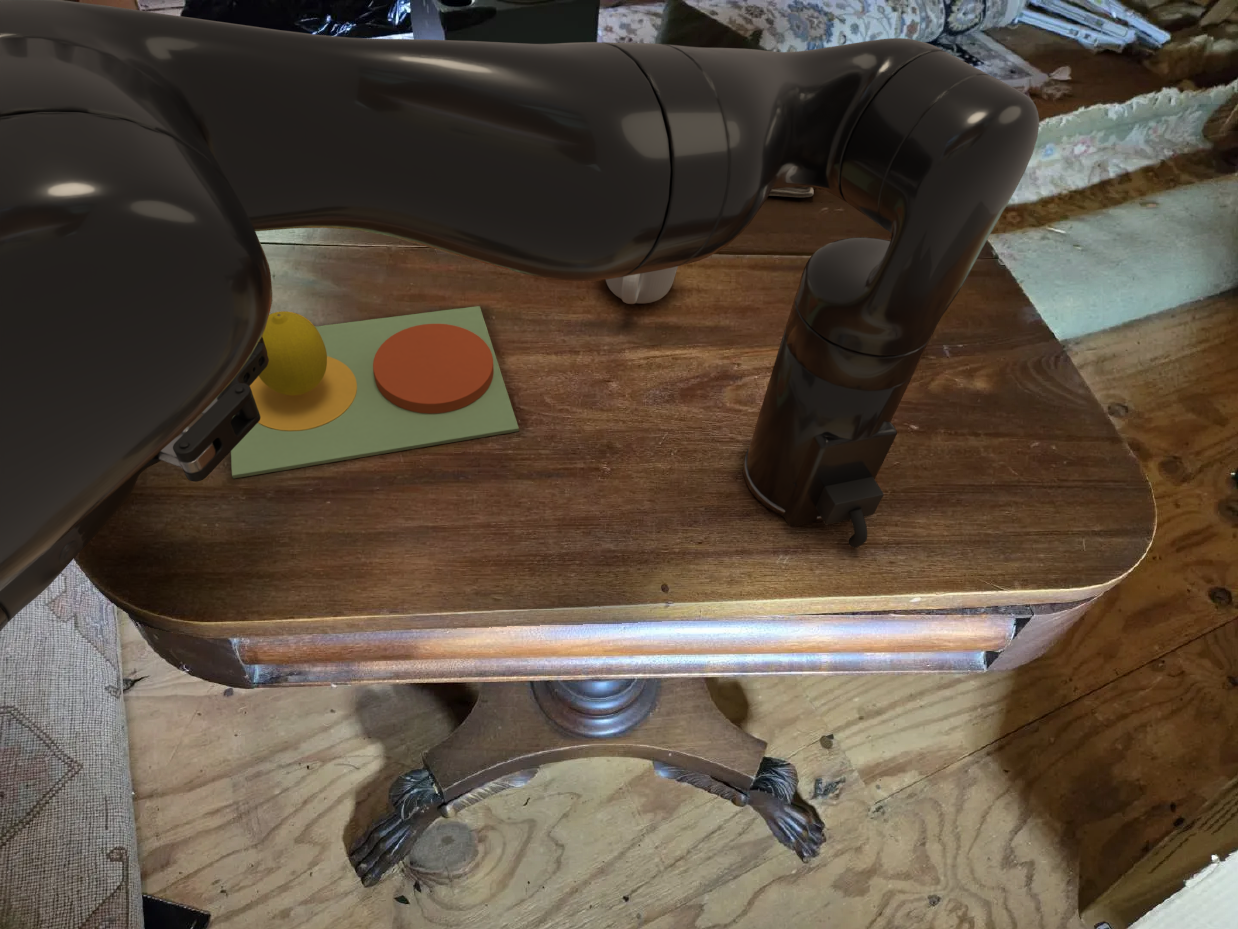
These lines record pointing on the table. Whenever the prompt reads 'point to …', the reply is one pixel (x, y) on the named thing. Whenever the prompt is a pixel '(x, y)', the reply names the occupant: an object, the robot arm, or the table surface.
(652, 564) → the table surface
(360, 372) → the placemat
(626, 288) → the cup
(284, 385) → the lemon
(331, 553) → the table surface
